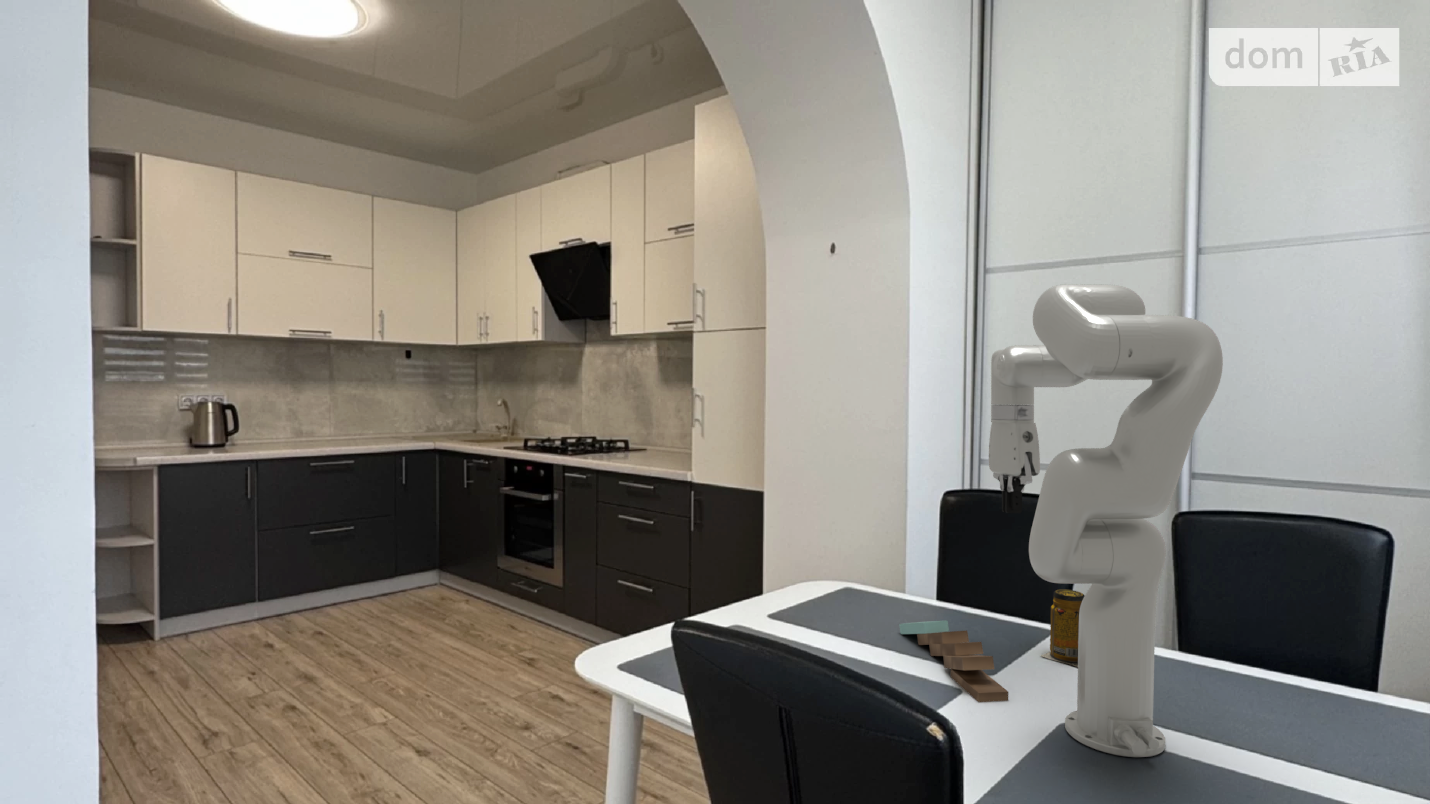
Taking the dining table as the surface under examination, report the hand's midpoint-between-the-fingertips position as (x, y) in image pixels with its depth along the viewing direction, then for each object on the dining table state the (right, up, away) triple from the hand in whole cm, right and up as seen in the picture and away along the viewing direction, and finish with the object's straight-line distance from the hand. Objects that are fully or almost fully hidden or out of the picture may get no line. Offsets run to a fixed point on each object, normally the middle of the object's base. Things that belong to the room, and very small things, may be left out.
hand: (1011, 512), depth 140 cm
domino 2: (-15, -25, +3) cm, 29 cm away
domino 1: (-17, -25, +9) cm, 31 cm away
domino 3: (-14, -25, -3) cm, 29 cm away
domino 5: (-13, -26, -13) cm, 32 cm away
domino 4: (-13, -25, -10) cm, 30 cm away
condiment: (+9, -26, -5) cm, 28 cm away
